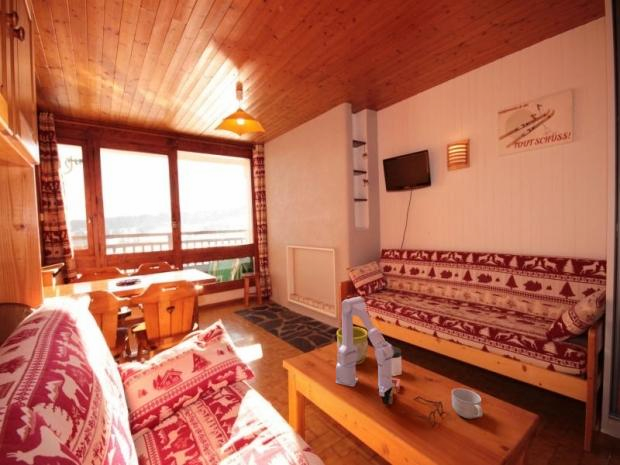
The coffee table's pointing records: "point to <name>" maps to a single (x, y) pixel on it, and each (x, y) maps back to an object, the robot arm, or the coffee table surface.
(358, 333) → the flowerpot
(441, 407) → the glasses
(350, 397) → the coffee table surface
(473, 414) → the teacup
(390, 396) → the beige rectangular block
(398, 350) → the jar
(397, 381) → the end cap
